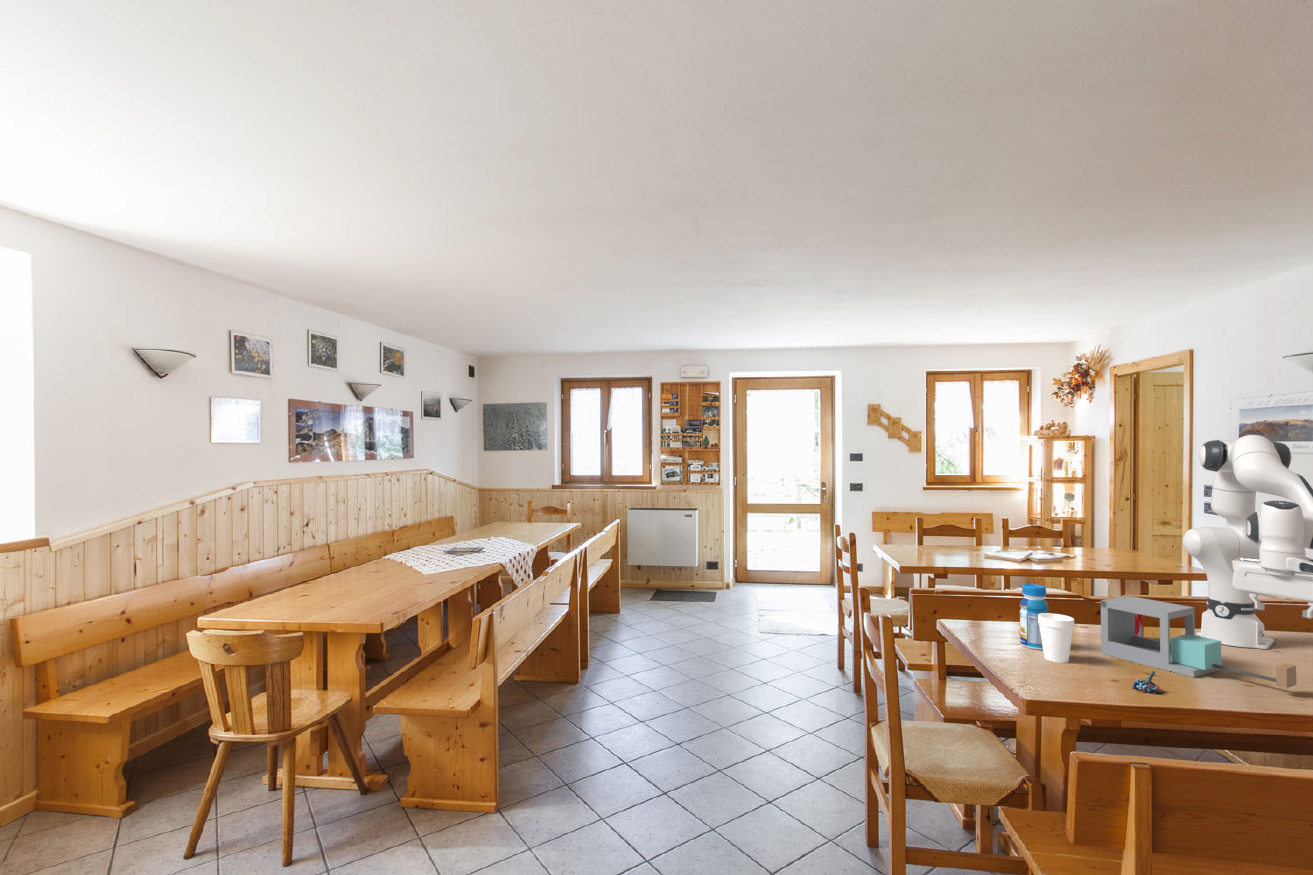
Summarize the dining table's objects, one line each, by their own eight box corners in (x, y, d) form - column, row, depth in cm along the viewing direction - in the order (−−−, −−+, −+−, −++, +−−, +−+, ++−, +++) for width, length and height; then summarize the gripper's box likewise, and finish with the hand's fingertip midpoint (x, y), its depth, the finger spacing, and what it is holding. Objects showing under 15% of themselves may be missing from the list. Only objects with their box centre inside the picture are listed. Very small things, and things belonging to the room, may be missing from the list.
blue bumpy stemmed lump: (1137, 674, 172) (1153, 666, 166) (1161, 697, 168) (1179, 689, 162) (1119, 690, 170) (1135, 683, 164) (1143, 714, 166) (1161, 707, 160)
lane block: (1188, 657, 188) (1187, 633, 188) (1299, 683, 166) (1298, 657, 167) (1171, 661, 184) (1171, 637, 184) (1283, 689, 162) (1283, 662, 162)
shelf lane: (1128, 647, 205) (1127, 595, 206) (1220, 669, 184) (1219, 611, 184) (1101, 653, 198) (1100, 600, 198) (1193, 677, 176) (1192, 617, 177)
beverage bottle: (1039, 651, 199) (1039, 589, 200) (1014, 644, 206) (1013, 584, 207) (1055, 648, 203) (1054, 586, 203) (1029, 641, 210) (1029, 582, 211)
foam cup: (1071, 657, 194) (1071, 615, 194) (1077, 666, 185) (1077, 622, 186) (1036, 652, 198) (1036, 611, 198) (1040, 661, 189) (1040, 618, 190)
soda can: (1148, 644, 209) (1147, 608, 209) (1124, 642, 210) (1124, 607, 211) (1136, 638, 216) (1136, 603, 216) (1113, 636, 217) (1113, 602, 218)
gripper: (1227, 556, 175) (1228, 606, 174) (1330, 568, 156) (1331, 624, 156) (1237, 555, 177) (1238, 603, 177) (1340, 567, 159) (1341, 621, 159)
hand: (1283, 613), depth 166 cm, fingers open, 8 cm apart
